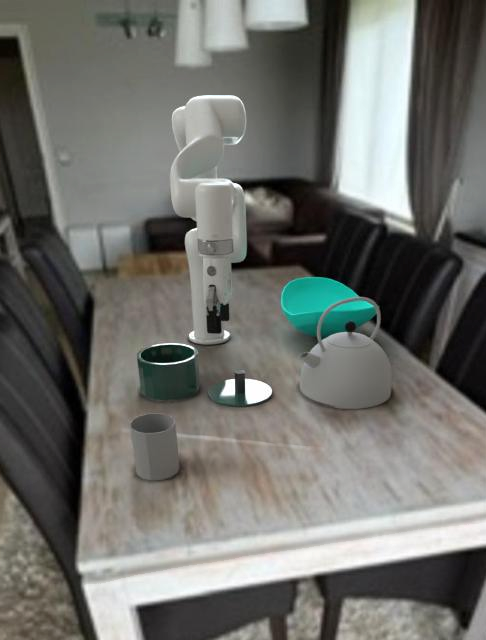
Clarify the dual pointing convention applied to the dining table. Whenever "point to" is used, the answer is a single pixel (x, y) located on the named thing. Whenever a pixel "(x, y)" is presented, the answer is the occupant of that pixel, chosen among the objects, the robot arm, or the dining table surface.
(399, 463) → the dining table surface
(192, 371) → the pot
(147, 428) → the cup
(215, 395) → the pot lid
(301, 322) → the table top decor
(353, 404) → the kettle
